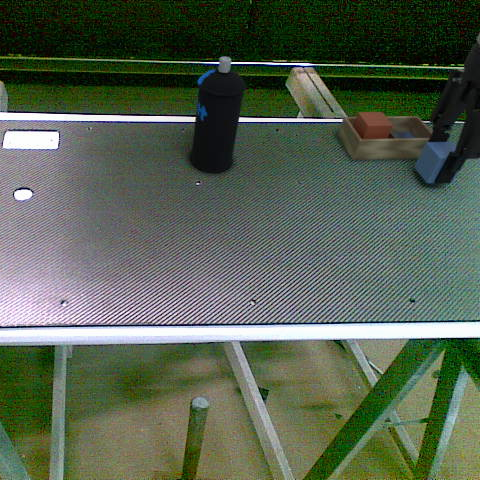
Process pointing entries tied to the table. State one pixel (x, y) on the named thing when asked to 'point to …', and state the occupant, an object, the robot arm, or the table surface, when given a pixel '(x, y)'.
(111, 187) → the table surface
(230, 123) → the aerosol can
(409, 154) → the tray
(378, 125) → the terracotta block
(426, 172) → the blue block
